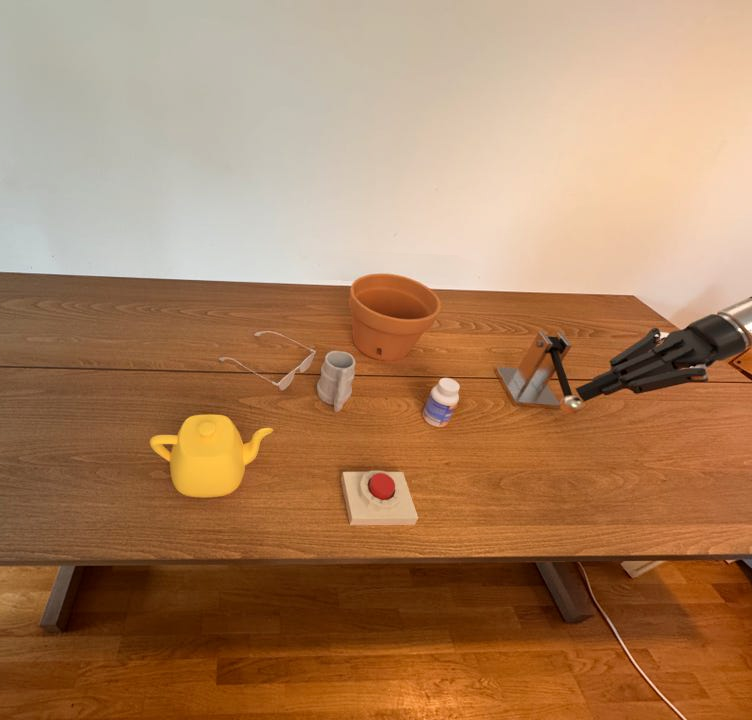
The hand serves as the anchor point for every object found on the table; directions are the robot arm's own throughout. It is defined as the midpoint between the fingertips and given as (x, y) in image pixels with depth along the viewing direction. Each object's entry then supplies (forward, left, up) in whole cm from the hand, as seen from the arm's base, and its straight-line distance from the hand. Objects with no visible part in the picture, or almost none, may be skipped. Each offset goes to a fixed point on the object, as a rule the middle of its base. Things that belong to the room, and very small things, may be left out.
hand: (579, 395), depth 81 cm
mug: (+42, +19, -11) cm, 47 cm away
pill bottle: (+22, +11, -11) cm, 27 cm away
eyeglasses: (+61, +17, -11) cm, 64 cm away
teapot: (+51, +48, -11) cm, 71 cm away
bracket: (+7, -11, -11) cm, 17 cm away
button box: (+25, +37, -11) cm, 46 cm away
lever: (+4, -6, -2) cm, 7 cm away
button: (+25, +37, -7) cm, 45 cm away
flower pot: (+41, -7, -11) cm, 43 cm away
